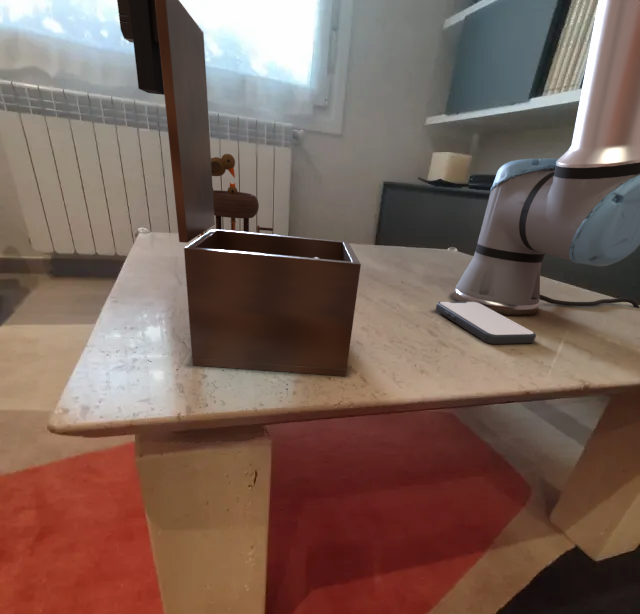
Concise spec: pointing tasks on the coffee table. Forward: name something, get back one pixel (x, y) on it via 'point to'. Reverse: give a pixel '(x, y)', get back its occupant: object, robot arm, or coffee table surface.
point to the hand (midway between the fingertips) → (151, 91)
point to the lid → (186, 117)
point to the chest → (271, 302)
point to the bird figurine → (232, 198)
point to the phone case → (485, 323)
